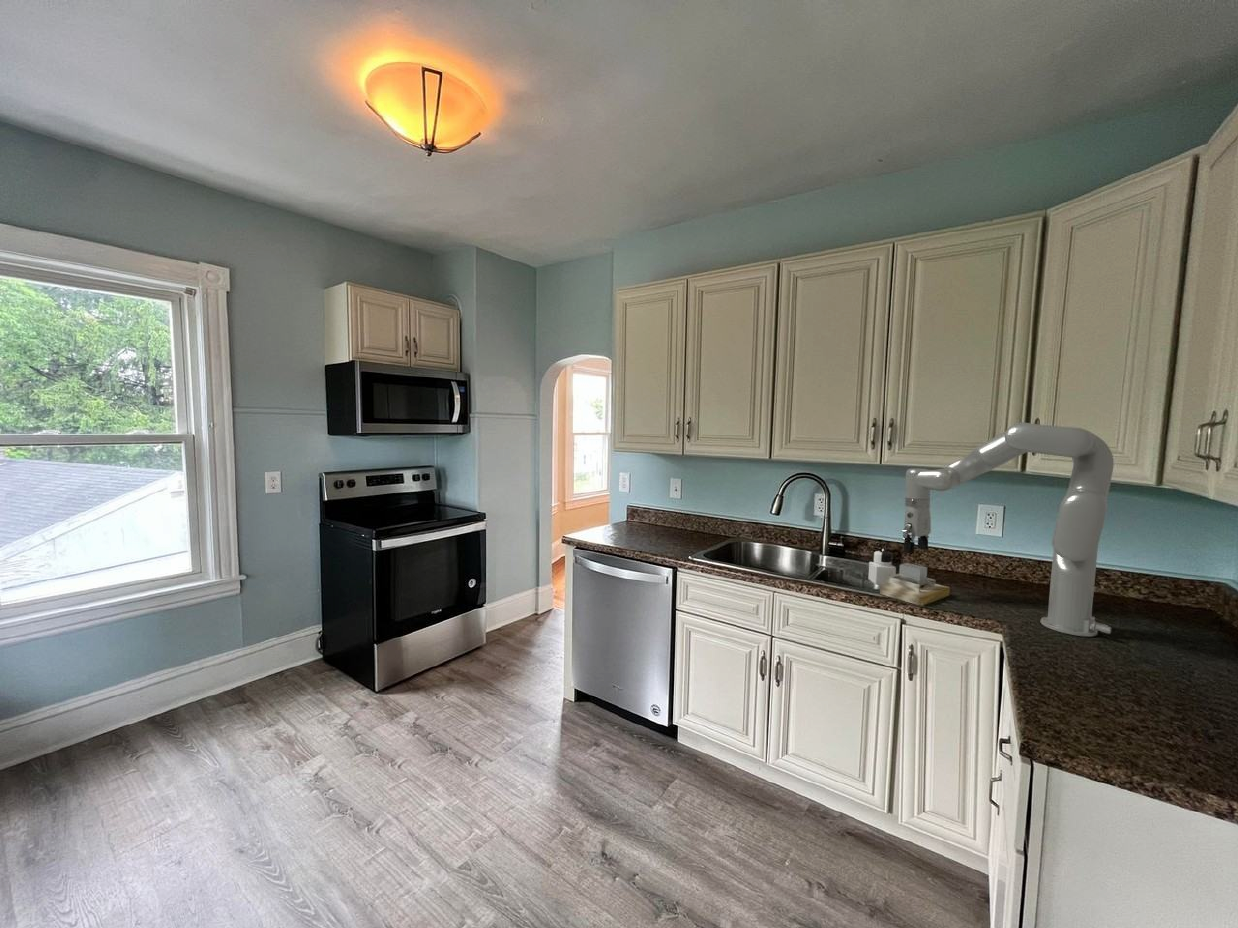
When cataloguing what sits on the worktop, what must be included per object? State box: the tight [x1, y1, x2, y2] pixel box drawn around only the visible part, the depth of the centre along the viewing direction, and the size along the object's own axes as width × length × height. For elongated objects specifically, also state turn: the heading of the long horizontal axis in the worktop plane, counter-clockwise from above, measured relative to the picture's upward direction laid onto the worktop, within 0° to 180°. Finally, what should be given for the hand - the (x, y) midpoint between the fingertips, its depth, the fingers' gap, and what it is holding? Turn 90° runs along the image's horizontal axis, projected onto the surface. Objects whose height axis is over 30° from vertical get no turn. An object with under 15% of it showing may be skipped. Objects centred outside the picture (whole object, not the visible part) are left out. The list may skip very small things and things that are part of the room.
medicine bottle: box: [868, 550, 897, 586], centre depth 190 cm, size 7×7×12 cm
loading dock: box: [879, 573, 951, 607], centre depth 176 cm, size 14×20×6 cm
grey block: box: [898, 562, 928, 587], centre depth 177 cm, size 7×5×7 cm
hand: (916, 550), depth 176 cm, fingers open, 9 cm apart
